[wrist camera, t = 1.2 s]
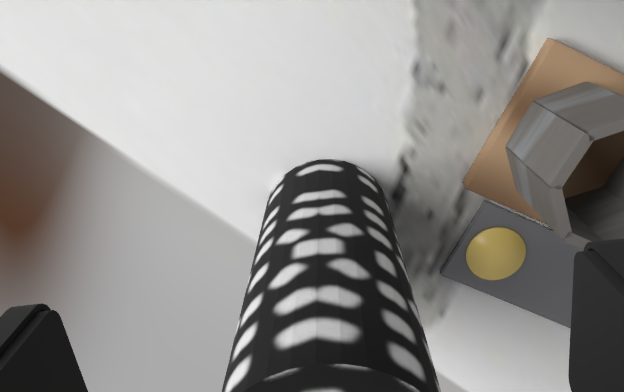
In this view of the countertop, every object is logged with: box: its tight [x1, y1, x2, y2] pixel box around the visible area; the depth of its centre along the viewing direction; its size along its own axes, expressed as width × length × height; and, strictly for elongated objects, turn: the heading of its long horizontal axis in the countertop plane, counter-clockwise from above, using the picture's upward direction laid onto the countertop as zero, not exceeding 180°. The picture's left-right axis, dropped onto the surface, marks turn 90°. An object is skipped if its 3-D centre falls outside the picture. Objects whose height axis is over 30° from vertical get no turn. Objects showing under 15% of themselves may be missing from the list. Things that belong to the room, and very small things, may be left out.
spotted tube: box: [222, 159, 441, 392], centre depth 28 cm, size 8×8×20 cm
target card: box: [441, 200, 584, 328], centre depth 38 cm, size 6×14×1 cm, turn 66°
